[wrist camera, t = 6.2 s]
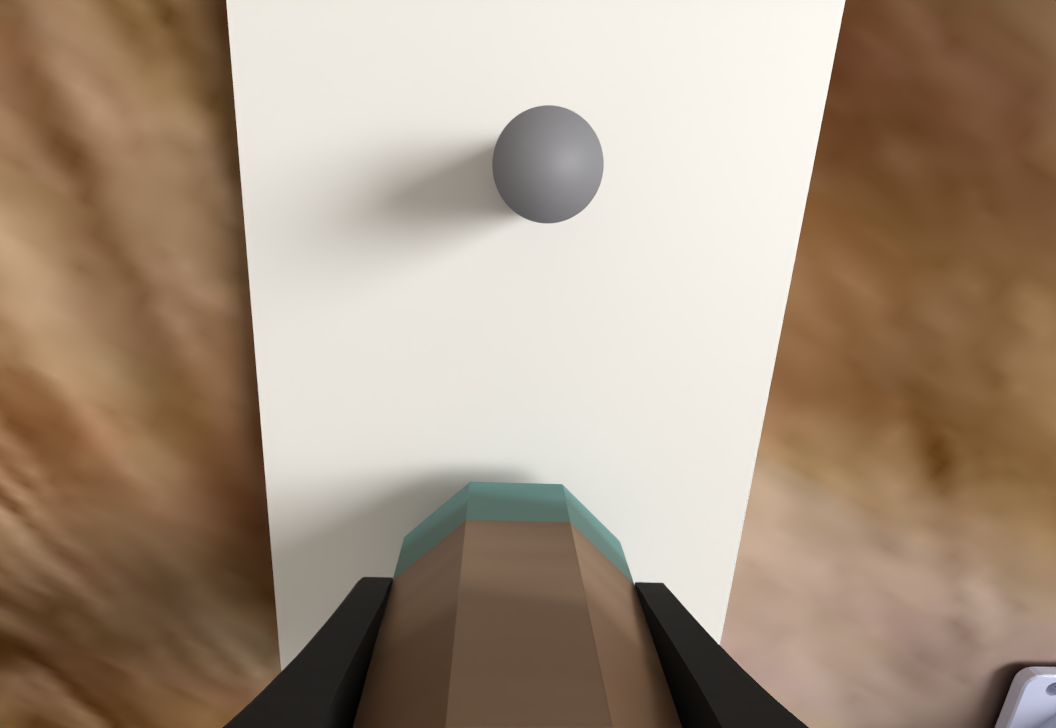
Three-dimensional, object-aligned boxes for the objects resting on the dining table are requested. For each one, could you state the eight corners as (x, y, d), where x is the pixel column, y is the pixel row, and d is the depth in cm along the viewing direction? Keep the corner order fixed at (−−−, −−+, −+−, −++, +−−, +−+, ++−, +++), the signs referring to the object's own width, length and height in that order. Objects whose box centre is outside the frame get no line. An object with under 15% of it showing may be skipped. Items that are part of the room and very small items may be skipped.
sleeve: (626, 485, 13) (727, 726, 7) (605, 661, 14) (675, 975, 9) (403, 480, 13) (322, 727, 7) (405, 659, 14) (341, 984, 8)
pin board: (826, -32, 12) (1043, -176, 7) (700, 656, 17) (777, 836, 12) (241, -85, 11) (51, -287, 6) (294, 652, 16) (210, 841, 12)
